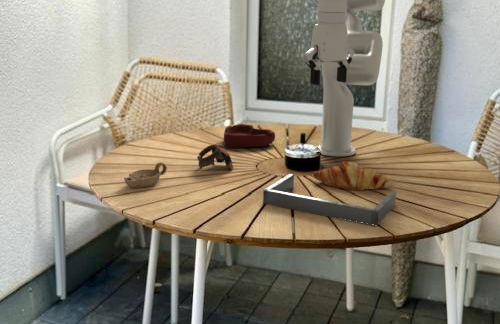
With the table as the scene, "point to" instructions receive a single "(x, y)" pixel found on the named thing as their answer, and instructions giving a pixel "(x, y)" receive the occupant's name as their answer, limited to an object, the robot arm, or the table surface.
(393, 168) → the table surface
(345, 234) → the table surface
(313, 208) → the bent metal bracket
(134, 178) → the oil lamp
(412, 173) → the table surface
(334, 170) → the croissant
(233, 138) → the ashtray
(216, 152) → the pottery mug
